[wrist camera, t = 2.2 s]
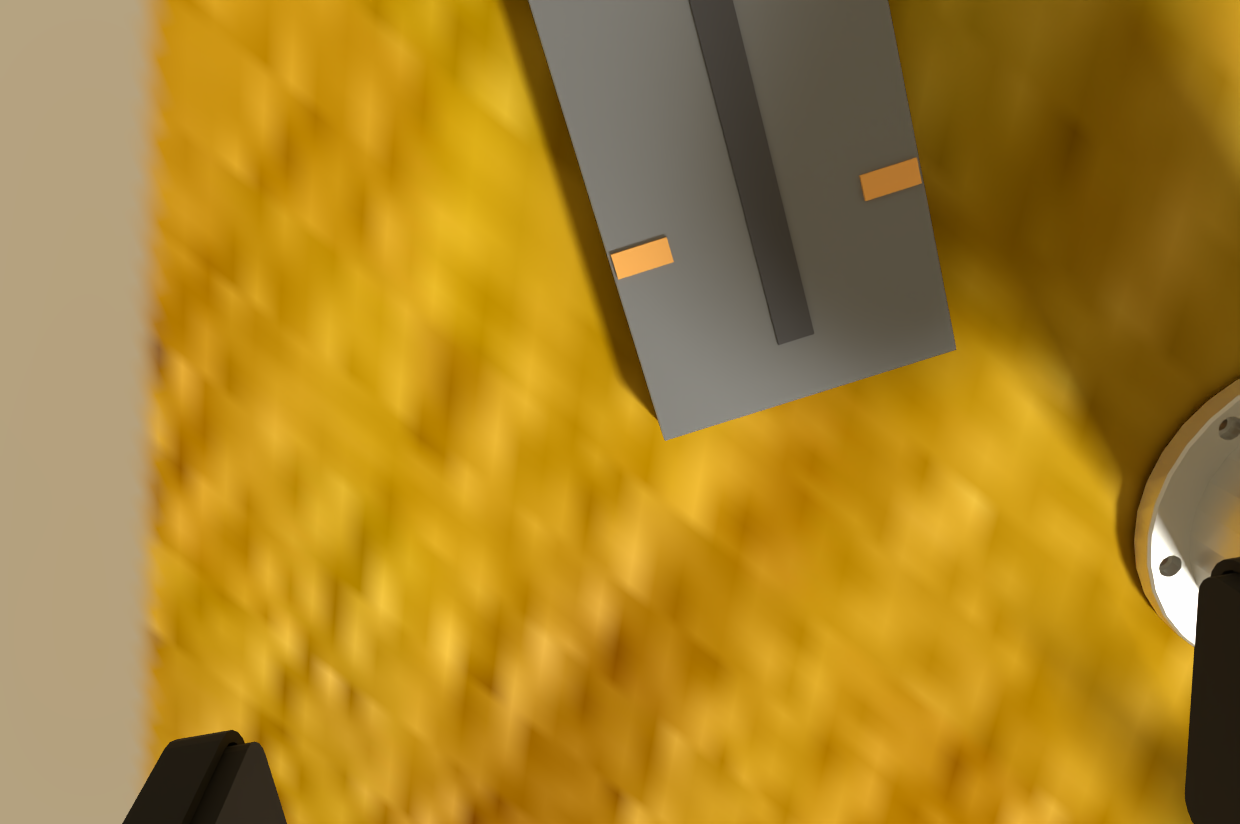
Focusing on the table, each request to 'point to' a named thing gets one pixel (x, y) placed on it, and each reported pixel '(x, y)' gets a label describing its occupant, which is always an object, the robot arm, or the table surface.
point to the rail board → (751, 194)
